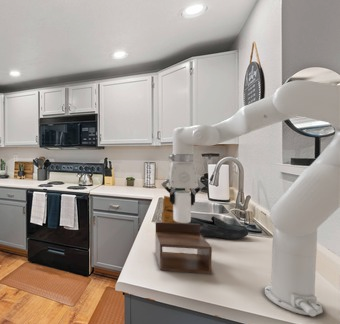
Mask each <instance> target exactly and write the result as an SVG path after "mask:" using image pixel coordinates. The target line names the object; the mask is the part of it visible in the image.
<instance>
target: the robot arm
mask: <svg viewBox="0 0 340 324" xmlns="http://www.w3.org/2000/svg"><path fill="white" fill-rule="evenodd" d="M296 117H303V118H307V119H311V120H317V121H321V122H325V123H328V124H329V125H330V126H331V127H333V128H334V132H335V133H334V135H333V138H332V139H331V141H330V142H329V143H328V144H327V146H326V147H325V148H324V150H323V151H322V152H321V153H320V154H319V155H318V156H317V157H316V159H315V160H314V161H313V162H312V163H311V164H310V165H309V166H308V167H306V168H305V169H304V170H303V171H302V172H301V173H300V174H299V176H298V177H297V178H296V179H295V181H294V182H293V183H292V184H291V185H290V186H289V187H288V188H287V190H286V191H285V192H284V193H283V194H282V196H280V197H279V198H278V199H276V201H274V204H273V205H272V207H271V208H270V211H269V219H270V222H271V224H272V225H273V226H272V245H271V276H270V277H271V278H270V284H268V285H266V286H265V287H264V295H265V296H266V297H267V298H268V300H269V301H271V302H272V303H274V305H277V306H278V307H281V308H282V309H285V310H287V311H290V312H292V313H294V314H295V313H296V314H299V315H304V316H310V317H316V316H318V315H321V314H322V313H323V312H324V309H323V306H322V304H321V303H320V301H319V300H318V297H317V296H316V269H317V249H318V248H317V247H318V228H319V227H320V226H321V225H323V224H324V223H325V222H326V221H327V220H328V219H329V218H330V217H331V216H332V215H333V214H334V213H335V212H336V211H337V210H338V209H339V208H340V85H338V84H333V83H325V82H318V81H312V80H304V79H303V80H302V79H296V80H290V81H288V82H286V83H284V84H282V85H281V86H279V87H278V88H277V89H276V90H275V92H274V93H273V94H270V95H267V96H266V97H264V98H261V99H259V100H256V101H253V102H251V103H249V104H247V105H244V106H241V108H239V109H238V110H237V111H236V113H234V114H233V115H232V116H231V117H229V118H227V119H225V120H223V121H220V122H218V123H215V124H212V125H208V124H196V125H192V126H180V127H175V128H173V130H172V154H171V155H169V156H168V160H171V161H172V162H170V165H169V170H168V171H169V172H168V177H167V178H166V179H165V180H164V181H163V182H162V183H161V184H160V185H161V186H162V187H163V188H164V189H165V191H167V192H168V193H169V197H170V202H171V203H172V204H174V191H175V189H176V188H185V189H189V191H190V195H191V206H194V204H195V203H196V195H197V194H198V193H199V192H200V191H201V190H202V189H203V188H204V187H205V184H204V183H202V182H201V181H200V179H198V170H197V164H196V162H194V146H199V147H211V146H215V145H218V144H221V143H224V142H227V141H230V140H234V139H236V138H239V137H241V136H243V135H247V134H250V133H252V132H255V131H257V130H261V129H263V128H266V127H268V126H272V125H275V124H278V123H281V122H284V121H288V120H290V119H293V118H296ZM167 185H168V186H167Z"/></svg>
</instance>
